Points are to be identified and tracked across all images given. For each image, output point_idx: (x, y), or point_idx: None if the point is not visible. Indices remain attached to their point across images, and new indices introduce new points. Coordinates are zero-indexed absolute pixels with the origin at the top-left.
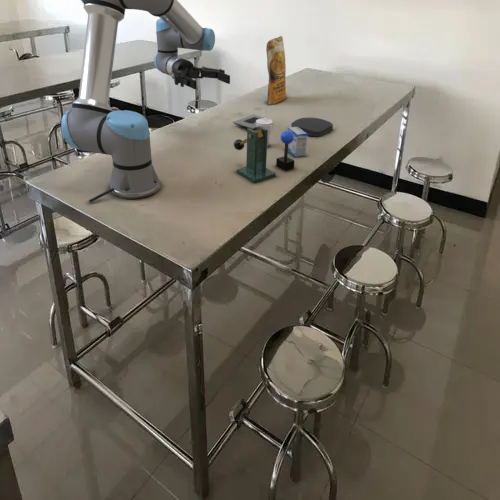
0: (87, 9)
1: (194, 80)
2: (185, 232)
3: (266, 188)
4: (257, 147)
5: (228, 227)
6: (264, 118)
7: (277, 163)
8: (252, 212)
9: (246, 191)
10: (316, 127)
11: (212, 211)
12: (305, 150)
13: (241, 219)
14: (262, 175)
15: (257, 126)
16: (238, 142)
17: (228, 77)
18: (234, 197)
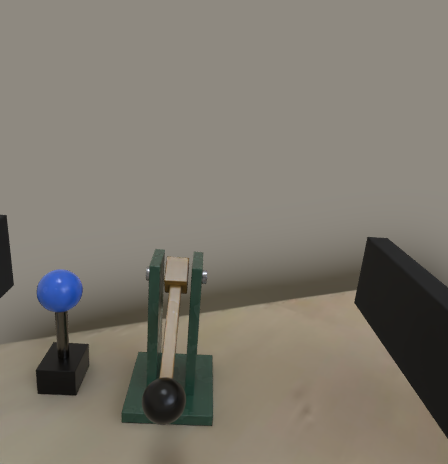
0: None
1: (382, 243)
2: None
3: (204, 339)
4: (158, 327)
5: (345, 302)
6: None
7: (77, 380)
8: (286, 307)
9: (253, 349)
10: None
11: (358, 335)
12: None
13: (315, 304)
14: (176, 359)
15: (159, 265)
16: (176, 381)
17: (5, 230)
18: (292, 346)
